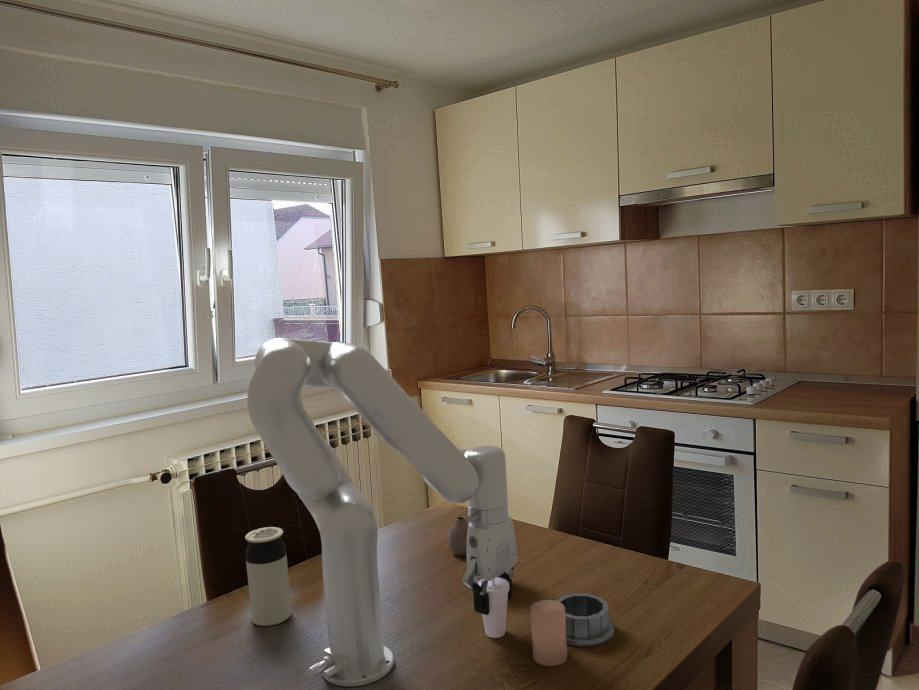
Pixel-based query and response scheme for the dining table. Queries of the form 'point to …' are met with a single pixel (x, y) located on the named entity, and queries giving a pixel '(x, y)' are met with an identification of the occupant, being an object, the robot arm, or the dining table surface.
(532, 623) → the peach rounded cylinder
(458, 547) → the vase
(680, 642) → the dining table surface
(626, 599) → the dining table surface
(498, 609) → the smoothie
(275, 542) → the travel mug
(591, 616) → the ring socket
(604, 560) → the dining table surface
